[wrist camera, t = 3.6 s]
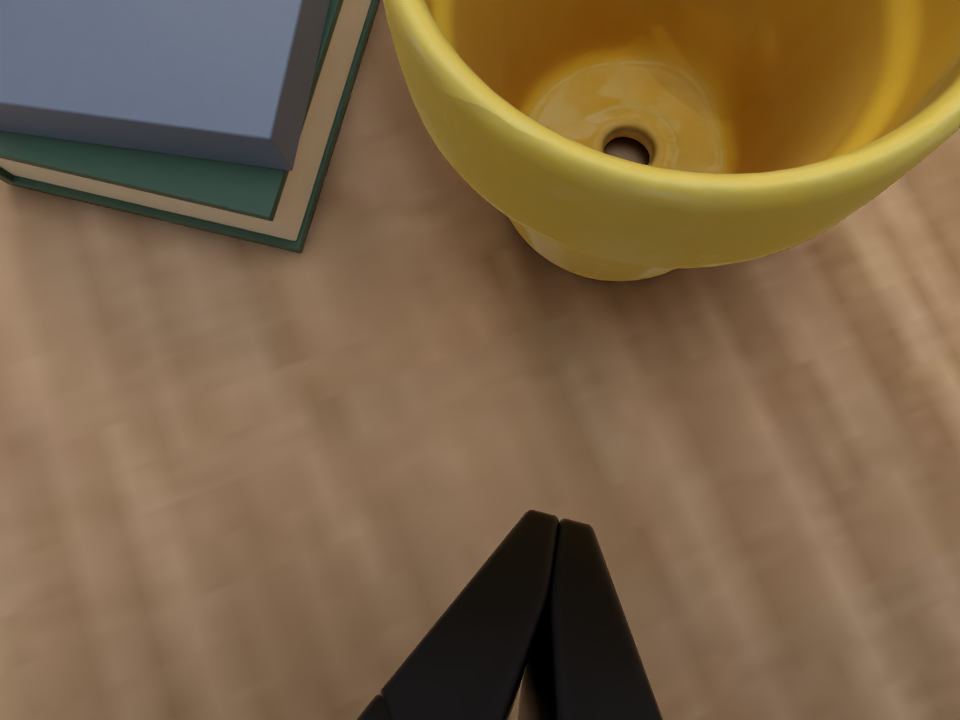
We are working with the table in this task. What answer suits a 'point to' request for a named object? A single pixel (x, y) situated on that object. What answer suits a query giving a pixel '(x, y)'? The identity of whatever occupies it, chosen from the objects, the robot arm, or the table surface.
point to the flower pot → (679, 117)
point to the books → (180, 106)
